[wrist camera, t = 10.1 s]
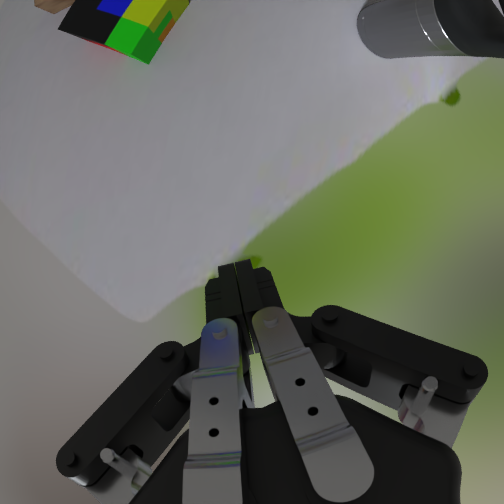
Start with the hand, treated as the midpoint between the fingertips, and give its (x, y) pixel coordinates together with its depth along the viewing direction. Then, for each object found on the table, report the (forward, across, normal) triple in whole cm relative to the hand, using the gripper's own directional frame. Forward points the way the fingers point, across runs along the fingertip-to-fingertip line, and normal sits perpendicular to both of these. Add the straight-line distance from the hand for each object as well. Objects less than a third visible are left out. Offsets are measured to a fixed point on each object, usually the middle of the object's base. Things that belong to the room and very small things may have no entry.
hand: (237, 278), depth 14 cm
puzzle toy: (+29, +6, -22) cm, 37 cm away
